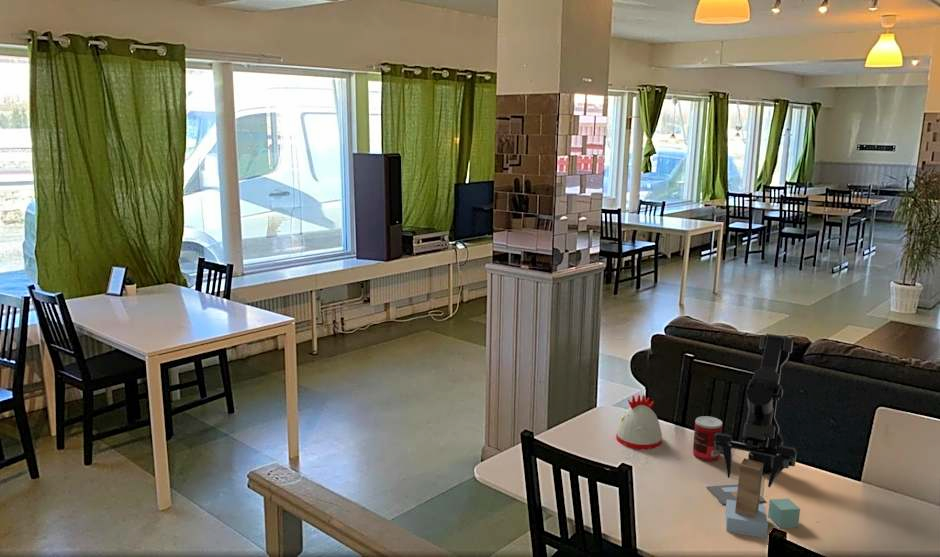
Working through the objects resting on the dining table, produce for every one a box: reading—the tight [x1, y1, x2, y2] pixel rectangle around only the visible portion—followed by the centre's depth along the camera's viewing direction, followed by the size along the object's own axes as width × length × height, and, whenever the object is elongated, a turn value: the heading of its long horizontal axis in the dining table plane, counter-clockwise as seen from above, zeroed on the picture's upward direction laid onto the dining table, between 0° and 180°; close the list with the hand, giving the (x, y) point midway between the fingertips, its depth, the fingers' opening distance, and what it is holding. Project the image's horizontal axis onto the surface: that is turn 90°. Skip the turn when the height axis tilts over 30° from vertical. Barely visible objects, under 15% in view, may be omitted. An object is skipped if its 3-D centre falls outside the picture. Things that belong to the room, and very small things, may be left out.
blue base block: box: [724, 499, 768, 539], centre depth 172 cm, size 9×9×4 cm
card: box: [706, 484, 767, 506], centre depth 187 cm, size 12×9×1 cm
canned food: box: [692, 415, 724, 462], centre depth 209 cm, size 8×8×11 cm
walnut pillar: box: [735, 458, 764, 518], centre depth 171 cm, size 4×4×12 cm
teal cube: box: [767, 497, 801, 529], centre depth 174 cm, size 5×5×5 cm
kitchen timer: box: [615, 393, 663, 451], centre depth 219 cm, size 14×14×15 cm
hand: (748, 482), depth 169 cm, fingers open, 9 cm apart
